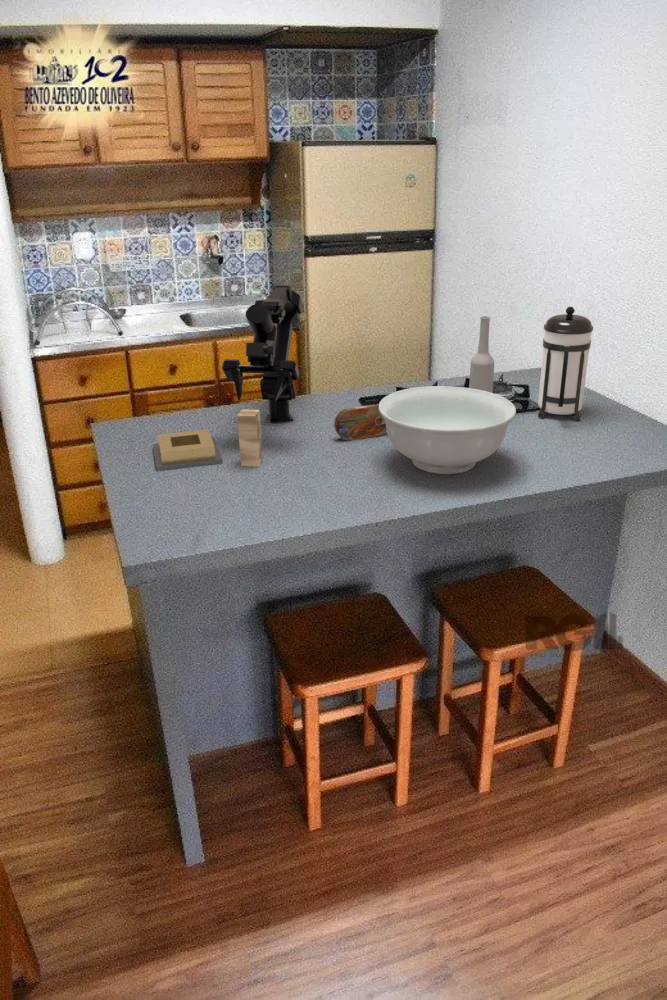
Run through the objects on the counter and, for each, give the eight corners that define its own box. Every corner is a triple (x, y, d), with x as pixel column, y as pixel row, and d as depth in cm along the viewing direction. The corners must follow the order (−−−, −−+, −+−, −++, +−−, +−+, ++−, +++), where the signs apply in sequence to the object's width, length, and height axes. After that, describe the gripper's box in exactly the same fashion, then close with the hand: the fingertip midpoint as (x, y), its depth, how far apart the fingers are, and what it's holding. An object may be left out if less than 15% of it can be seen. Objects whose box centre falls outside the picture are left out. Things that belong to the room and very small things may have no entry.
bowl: (540, 470, 184) (546, 411, 178) (429, 501, 170) (431, 438, 163) (456, 430, 209) (458, 377, 203) (353, 454, 195) (352, 398, 189)
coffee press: (518, 410, 223) (527, 305, 210) (562, 402, 229) (573, 299, 216) (558, 429, 208) (570, 316, 196) (604, 419, 214) (619, 310, 202)
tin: (337, 442, 203) (336, 412, 199) (333, 438, 206) (332, 408, 202) (390, 435, 207) (390, 405, 204) (385, 431, 210) (386, 401, 206)
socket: (153, 447, 202) (151, 433, 200) (214, 441, 206) (213, 426, 204) (156, 470, 188) (154, 455, 186) (222, 463, 192) (221, 448, 190)
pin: (245, 459, 194) (241, 409, 188) (262, 459, 193) (259, 410, 188) (241, 465, 190) (237, 415, 184) (258, 466, 189) (255, 415, 184)
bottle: (465, 419, 217) (471, 318, 205) (469, 412, 223) (474, 313, 211) (489, 421, 215) (496, 320, 203) (492, 413, 221) (499, 314, 209)
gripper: (220, 327, 192) (212, 383, 187) (294, 328, 189) (288, 385, 184) (231, 350, 202) (223, 404, 197) (301, 351, 200) (295, 406, 195)
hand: (256, 400), depth 193 cm, fingers open, 9 cm apart
